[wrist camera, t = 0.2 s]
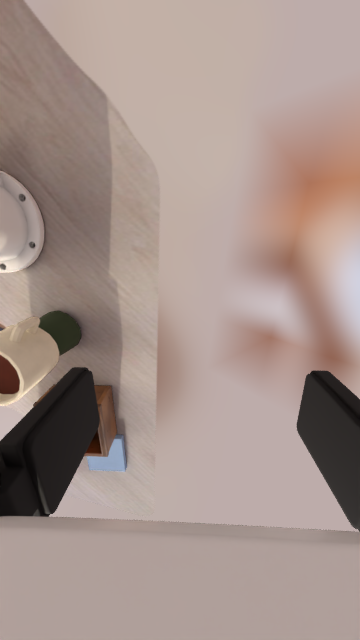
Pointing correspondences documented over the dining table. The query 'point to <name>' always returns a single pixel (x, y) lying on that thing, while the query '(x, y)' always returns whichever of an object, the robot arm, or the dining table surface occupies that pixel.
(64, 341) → the character mug
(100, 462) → the sticky note pad
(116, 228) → the dining table surface
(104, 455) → the wooden box
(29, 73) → the dining table surface
